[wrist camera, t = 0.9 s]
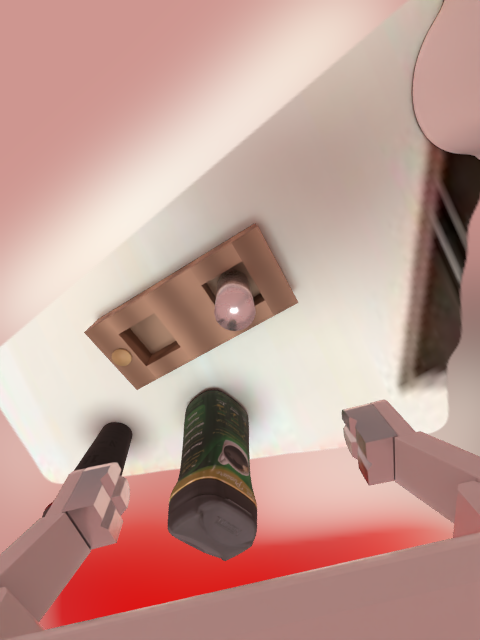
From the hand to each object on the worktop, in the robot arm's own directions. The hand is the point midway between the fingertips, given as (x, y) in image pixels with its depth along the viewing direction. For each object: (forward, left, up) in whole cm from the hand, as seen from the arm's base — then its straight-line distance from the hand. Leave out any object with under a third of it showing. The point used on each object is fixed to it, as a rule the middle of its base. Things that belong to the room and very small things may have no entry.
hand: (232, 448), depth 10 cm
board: (+7, +2, -28) cm, 29 cm away
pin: (+1, +2, -27) cm, 27 cm away
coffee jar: (+14, +19, -28) cm, 37 cm away
